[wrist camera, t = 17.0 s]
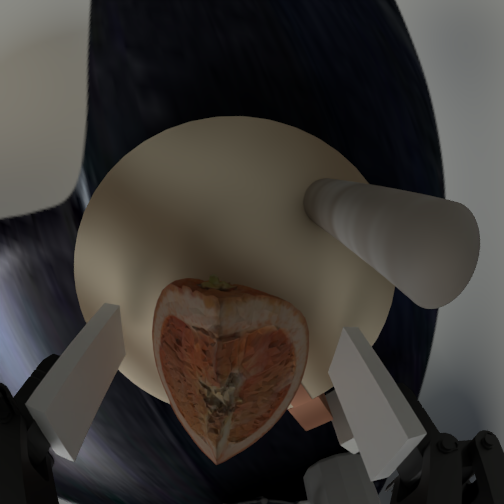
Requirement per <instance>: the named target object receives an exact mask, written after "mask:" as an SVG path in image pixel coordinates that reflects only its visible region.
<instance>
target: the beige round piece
mask: <svg viewBox="0 0 504 504" xmlns="http://www.w3.org/2000/svg"><path fill="white" fill-rule="evenodd" d="M479 250H480V235H479V228H478V225H477V222H476V219H475V217H474V216H473V214H472V212H471V211H470V210H469V209H468V208H467V207H466V206H464V205H462V204H461V203H458V202H454V201H450V200H446V199H442V198H438V197H433V196H429V195H424V194H419V193H414V192H409V191H404V190H399V189H394V188H388V187H383V186H377V185H371V184H369V183H368V182H367V181H366V179H365V178H364V177H363V176H362V174H361V173H360V172H359V171H358V170H357V168H356V167H355V166H353V165H352V164H351V163H350V162H349V161H348V160H347V159H346V158H345V157H344V156H343V155H342V154H340V153H339V152H338V151H337V150H335V149H334V148H332V147H331V146H329V145H328V144H326V143H325V142H323V141H322V140H320V139H319V138H317V137H315V136H313V135H311V134H309V133H306V132H304V131H302V130H300V129H298V128H296V127H293V126H290V125H286V124H283V123H279V122H276V121H272V120H268V119H261V118H254V117H246V116H225V117H212V118H206V119H201V120H195V121H190V122H187V123H184V124H181V125H178V126H175V127H173V128H170V129H167V130H165V131H163V132H161V133H159V134H157V135H155V136H153V137H151V138H150V139H148V140H146V141H144V142H143V143H141V144H140V145H139V146H137V147H136V148H134V149H133V150H132V151H130V152H129V153H128V154H127V155H125V156H124V157H123V158H122V159H121V160H120V161H119V162H118V163H117V164H116V165H115V166H114V167H113V168H112V169H111V170H110V171H109V172H108V174H107V175H106V176H105V178H104V179H103V180H102V182H101V183H100V185H99V186H98V187H97V189H96V190H95V192H94V194H93V196H92V198H91V200H90V202H89V204H88V206H87V208H86V210H85V212H84V215H83V218H82V221H81V224H80V227H79V230H78V235H77V240H76V246H75V255H74V275H75V284H76V292H77V296H78V300H79V304H80V308H81V311H82V313H83V316H84V319H85V321H86V323H88V322H89V321H90V319H91V318H92V317H93V316H94V315H95V314H96V312H97V311H98V310H99V309H100V308H101V307H102V306H103V304H104V303H108V304H114V305H120V313H121V323H122V331H123V339H124V346H125V353H126V355H125V357H124V359H123V360H122V362H121V364H120V366H119V368H118V370H119V371H120V372H121V373H122V374H124V375H125V376H126V377H127V378H128V379H129V380H131V381H132V382H133V383H134V384H136V385H137V386H139V387H140V388H141V389H143V390H144V391H146V392H147V393H149V394H151V395H153V396H155V397H156V398H158V399H160V400H162V401H164V402H167V403H169V404H170V401H169V399H168V396H167V394H166V392H165V389H164V387H163V385H162V382H161V379H160V376H159V373H158V370H157V367H156V363H155V357H154V351H153V341H152V326H153V317H154V310H155V307H156V304H157V300H158V298H159V296H160V294H161V292H162V290H163V289H164V288H165V287H166V286H167V285H168V284H170V283H172V282H173V281H175V280H180V279H185V278H194V279H200V280H203V281H208V280H209V277H210V275H212V274H216V275H217V276H218V278H219V281H225V282H227V283H229V282H230V284H232V285H233V284H239V285H244V286H248V287H251V288H254V289H257V290H260V291H263V292H266V293H268V294H270V295H274V296H277V297H279V298H281V299H283V300H286V301H288V302H290V303H291V304H292V305H294V306H295V307H296V308H297V309H298V310H299V311H301V312H302V314H303V316H304V317H305V319H306V322H307V325H308V329H309V352H308V359H307V364H306V368H305V372H304V375H303V378H302V381H301V384H300V386H299V388H298V390H297V392H296V394H295V396H294V398H293V400H292V402H291V403H290V405H289V407H288V408H287V409H288V411H289V412H290V413H291V414H292V415H293V416H294V418H295V419H296V420H297V421H298V422H299V423H300V425H301V426H302V427H303V428H304V429H305V430H306V431H307V430H310V429H312V428H315V427H317V426H320V425H322V424H324V423H326V422H329V421H331V420H333V416H332V414H331V411H330V408H329V405H328V402H327V399H326V397H325V394H324V392H326V391H327V390H329V389H330V388H332V387H333V383H332V381H331V378H330V376H329V374H328V371H329V368H330V365H331V362H332V360H333V357H334V354H335V351H336V348H337V345H338V342H339V339H340V336H341V332H342V329H343V327H358V328H359V329H360V331H361V332H362V334H363V335H364V337H365V338H366V339H367V341H368V342H369V344H370V345H371V347H372V346H373V344H374V343H375V341H376V339H377V338H378V336H379V334H380V332H381V330H382V328H383V326H384V324H385V321H386V319H387V316H388V313H389V310H390V307H391V303H392V299H393V294H394V289H395V286H396V287H397V288H398V289H399V290H401V291H402V292H403V293H404V294H405V295H406V296H408V297H409V298H410V299H411V300H412V301H413V302H415V303H416V304H417V305H419V306H420V307H423V308H427V309H435V308H439V307H442V306H444V305H446V304H448V303H450V302H451V301H453V300H454V299H455V298H456V297H457V296H458V295H459V294H460V293H461V292H462V291H463V290H464V288H465V287H466V286H467V284H468V282H469V281H470V279H471V277H472V275H473V273H474V270H475V268H476V264H477V261H478V256H479Z"/></svg>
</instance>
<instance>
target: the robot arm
mask: <svg viewBox="0 0 504 504" xmlns="http://www.w3.org/2000/svg"><path fill="white" fill-rule="evenodd" d="M125 355H126V353H125V346H124V339H123V331H122V323H121V313H120V305H114V304H108V303H104V304H103V306H102V307H101V308H100V309H99V310H98V311H97V312H96V314H95V315H94V316H93V317H92V318H91V319H90V321H89V322H88V323H87V324H86V325H85V326H84V328H83V329H82V330H81V331H80V332H79V334H78V335H77V336H76V337H75V339H74V340H73V341H72V342H71V343H70V345H69V346H68V347H67V348H66V350H65V351H64V352H63V353H62V355H61V356H58V355H55V354H52V355H50V356H49V357H47V358H45V359H44V360H43V361H42V362H41V363H40V364H39V365H38V367H37V368H36V370H34V372H33V373H32V374H31V377H29V378H28V379H27V381H26V382H25V383H24V384H23V386H22V387H21V388H20V390H19V391H18V392H17V394H16V395H15V396H14V398H13V397H12V395H11V393H10V391H9V389H8V388H7V386H5V385H4V384H2V383H0V504H59V502H58V498H57V493H56V488H55V483H54V478H53V472H52V467H53V464H54V461H53V459H52V457H51V456H50V455H49V453H48V450H49V448H50V446H51V447H52V449H53V450H54V452H55V453H56V454H57V455H59V456H61V457H64V458H66V459H68V460H71V461H73V462H75V460H76V457H77V455H78V453H79V450H80V448H81V446H82V443H83V441H84V439H85V437H86V434H87V432H88V430H89V428H90V425H91V423H92V421H93V419H94V417H95V415H96V413H97V410H98V408H99V406H100V404H101V402H102V400H103V398H104V396H105V394H106V392H107V390H108V388H109V386H110V384H111V382H112V380H113V378H114V376H115V374H116V372H117V370H118V368H119V366H120V364H121V362H122V360H123V359H124V357H125ZM328 374H329V376H330V378H331V381H332V383H333V386H334V388H335V391H336V393H337V396H338V398H339V401H340V403H341V406H342V408H343V411H344V413H345V416H346V418H347V421H348V423H349V426H350V428H351V431H352V433H353V436H354V439H355V441H356V444H357V446H358V449H359V452H360V454H361V457H362V459H363V462H364V465H365V467H366V470H367V473H368V475H369V478H370V481H375V480H379V479H383V478H386V477H389V476H390V475H391V474H392V473H393V472H394V471H395V470H396V469H397V471H398V473H399V476H398V477H396V479H395V480H393V481H392V482H391V483H390V484H389V485H388V486H387V488H386V490H385V491H388V490H389V489H390V488H391V487H393V486H394V487H393V490H392V491H391V492H392V497H391V502H390V504H504V452H503V450H502V447H501V445H500V443H499V440H498V438H497V437H496V435H494V434H493V433H492V432H490V431H485V430H483V431H480V432H479V433H478V434H477V435H476V436H475V437H474V438H473V440H467V441H458V440H457V439H456V438H455V437H454V436H452V435H451V434H447V433H440V432H439V431H438V430H437V428H436V427H435V425H434V423H433V422H432V421H431V419H430V417H429V416H428V414H427V413H426V411H425V410H424V408H422V405H421V404H420V402H419V401H417V398H416V396H415V395H414V393H413V392H412V390H411V389H409V388H408V387H407V386H406V385H404V384H403V383H398V384H396V383H395V381H394V380H393V378H392V377H391V375H390V374H389V372H388V371H387V369H386V368H385V366H384V365H383V363H382V362H381V360H380V359H379V357H378V356H377V354H376V353H375V351H374V350H373V348H372V347H371V345H370V344H369V342H368V341H367V339H366V338H365V337H364V335H363V334H362V332H361V331H360V329H359V328H358V327H343V329H342V332H341V336H340V339H339V342H338V345H337V348H336V351H335V354H334V357H333V360H332V362H331V365H330V368H329V371H328ZM474 474H475V476H476V480H475V481H474V482H473V483H471V482H470V481H469V479H470V478H471V477H472V476H473V475H474Z"/></svg>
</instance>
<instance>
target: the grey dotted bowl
mask: <svg viewBox="0 0 504 504" xmlns="http://www.w3.org/2000/svg"><path fill="white" fill-rule="evenodd" d="M297 503H299V502H298V501H296V502H289V501H284V500H276V499H268V498H266V497H257V498H255V499H252V500H244V501H239V502H235V503H223V504H297Z"/></svg>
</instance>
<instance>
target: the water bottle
mask: <svg viewBox="0 0 504 504" xmlns="http://www.w3.org/2000/svg"><path fill="white" fill-rule="evenodd" d="M303 479H304V484H305V489H306V494H307V499H308V500H307V501H300V502H299V503H297V504H381V503H380V500H379V497H378V494H377V491H376V489H375V486H374V483H373V481H370V478H369V475H368V473H367V470H366V467H365V465H364V462H363V459H362V457H361V455H360V454H352V453H351V452H348V453H342V454H336V455H332V456H330V457H327V458H324V459H321V460H319V461H318V462H316V463H315V464H313V465H312V466H310V467H309V468H308V470H307V471H306V473H305V475H304V477H303Z"/></svg>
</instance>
